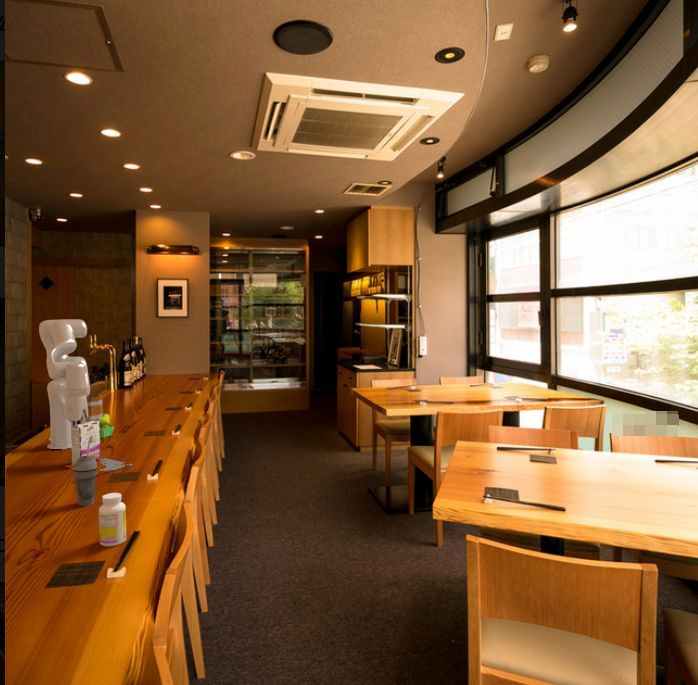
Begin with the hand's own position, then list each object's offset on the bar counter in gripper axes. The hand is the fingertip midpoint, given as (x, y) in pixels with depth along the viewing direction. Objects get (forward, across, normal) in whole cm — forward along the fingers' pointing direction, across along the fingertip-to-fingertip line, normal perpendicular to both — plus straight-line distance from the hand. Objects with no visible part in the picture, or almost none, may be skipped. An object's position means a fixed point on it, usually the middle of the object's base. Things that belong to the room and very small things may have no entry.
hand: (77, 436), depth 216 cm
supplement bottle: (+11, +81, -42) cm, 92 cm away
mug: (+10, -72, +53) cm, 90 cm away
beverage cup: (+11, +48, -28) cm, 57 cm away
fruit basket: (+11, -32, +33) cm, 47 cm away
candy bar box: (+11, +6, 0) cm, 12 cm away
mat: (+11, +13, 0) cm, 17 cm away
